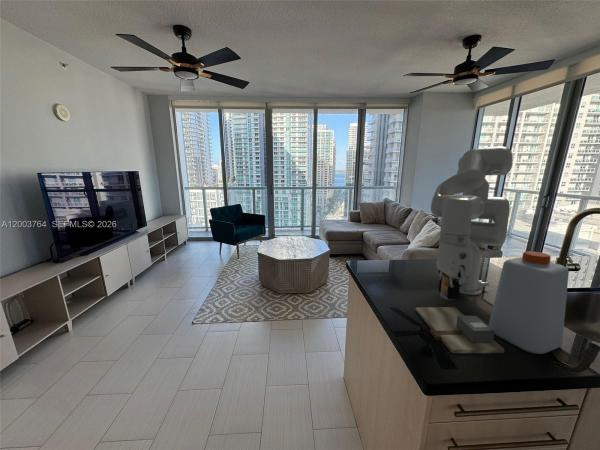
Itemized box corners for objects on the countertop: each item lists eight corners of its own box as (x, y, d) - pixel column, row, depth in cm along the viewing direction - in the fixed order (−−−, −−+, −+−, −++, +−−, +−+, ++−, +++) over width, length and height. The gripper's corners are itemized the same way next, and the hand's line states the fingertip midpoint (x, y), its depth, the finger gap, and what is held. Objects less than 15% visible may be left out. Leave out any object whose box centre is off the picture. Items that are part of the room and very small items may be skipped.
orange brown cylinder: (450, 294, 80) (452, 273, 78) (458, 300, 76) (460, 278, 74) (437, 294, 80) (439, 273, 78) (444, 300, 76) (447, 278, 74)
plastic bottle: (567, 346, 75) (586, 257, 69) (537, 359, 69) (554, 265, 64) (510, 320, 89) (522, 244, 83) (482, 329, 83) (492, 250, 78)
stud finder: (474, 326, 83) (475, 315, 82) (492, 342, 75) (494, 329, 74) (456, 326, 83) (457, 315, 82) (472, 342, 75) (474, 329, 74)
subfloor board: (458, 309, 96) (458, 306, 96) (509, 352, 72) (509, 348, 72) (411, 310, 96) (411, 307, 96) (447, 353, 72) (447, 349, 72)
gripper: (487, 245, 66) (478, 308, 69) (450, 232, 82) (445, 283, 86) (458, 246, 66) (452, 309, 69) (427, 232, 83) (423, 284, 86)
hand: (448, 294), depth 78 cm, fingers closed on orange brown cylinder, 4 cm apart
